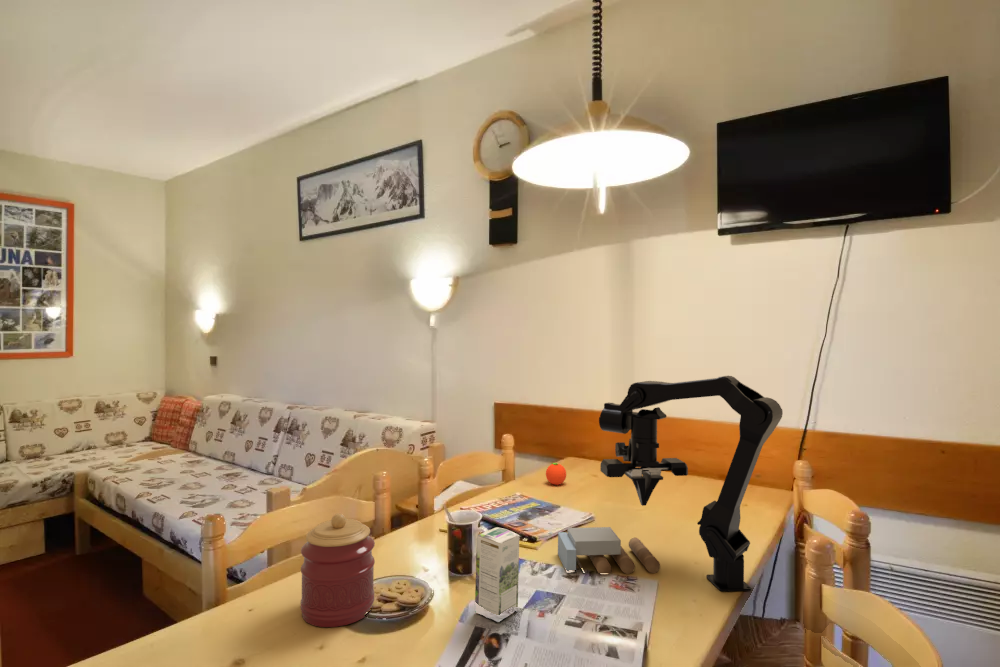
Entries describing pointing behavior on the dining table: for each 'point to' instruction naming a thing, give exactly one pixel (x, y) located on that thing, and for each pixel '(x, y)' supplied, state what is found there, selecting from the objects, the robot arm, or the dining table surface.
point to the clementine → (556, 474)
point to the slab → (595, 541)
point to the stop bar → (566, 551)
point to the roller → (600, 563)
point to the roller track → (641, 554)
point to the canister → (337, 573)
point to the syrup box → (497, 570)
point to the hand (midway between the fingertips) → (643, 505)
